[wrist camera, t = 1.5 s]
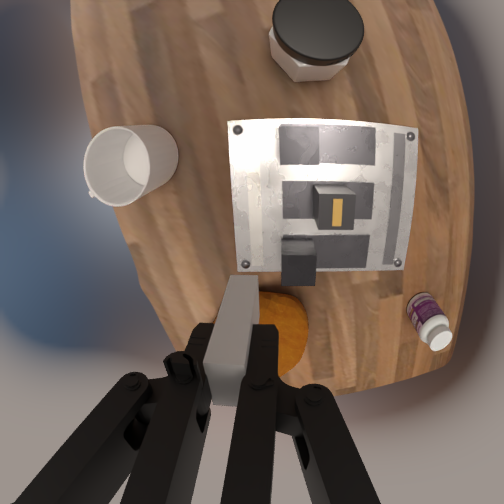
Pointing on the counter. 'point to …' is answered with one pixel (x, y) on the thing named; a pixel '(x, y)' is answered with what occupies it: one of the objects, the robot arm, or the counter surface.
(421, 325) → the pill bottle
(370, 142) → the panel
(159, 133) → the mug
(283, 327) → the bread
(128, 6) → the counter surface
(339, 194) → the handle
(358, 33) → the jar
